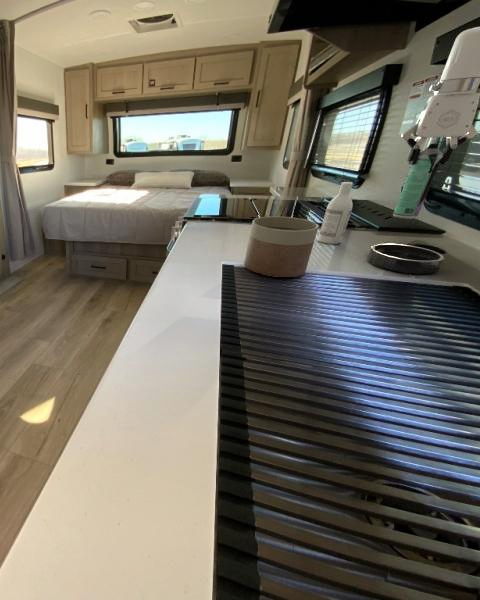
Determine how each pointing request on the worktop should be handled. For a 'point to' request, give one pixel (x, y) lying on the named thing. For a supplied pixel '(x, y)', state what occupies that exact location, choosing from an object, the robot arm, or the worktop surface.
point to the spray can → (418, 182)
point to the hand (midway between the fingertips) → (426, 163)
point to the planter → (280, 246)
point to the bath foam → (337, 216)
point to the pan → (405, 258)
